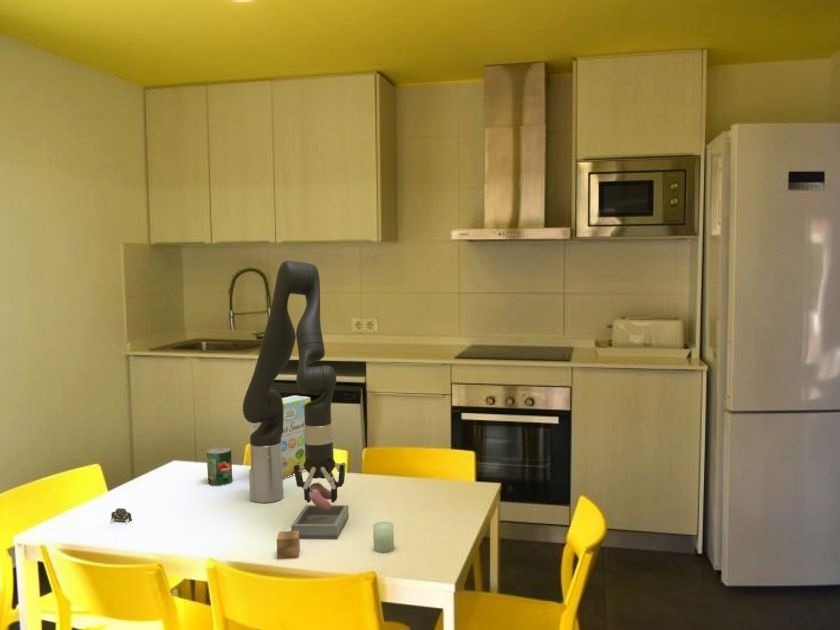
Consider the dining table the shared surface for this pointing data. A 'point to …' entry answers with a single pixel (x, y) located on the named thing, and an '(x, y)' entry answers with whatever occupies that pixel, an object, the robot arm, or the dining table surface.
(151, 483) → the dining table surface
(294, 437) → the snack box
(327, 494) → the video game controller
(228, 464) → the canned tomato
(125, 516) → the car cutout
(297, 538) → the walnut cube
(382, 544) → the sage cylinder
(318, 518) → the charcoal tray
